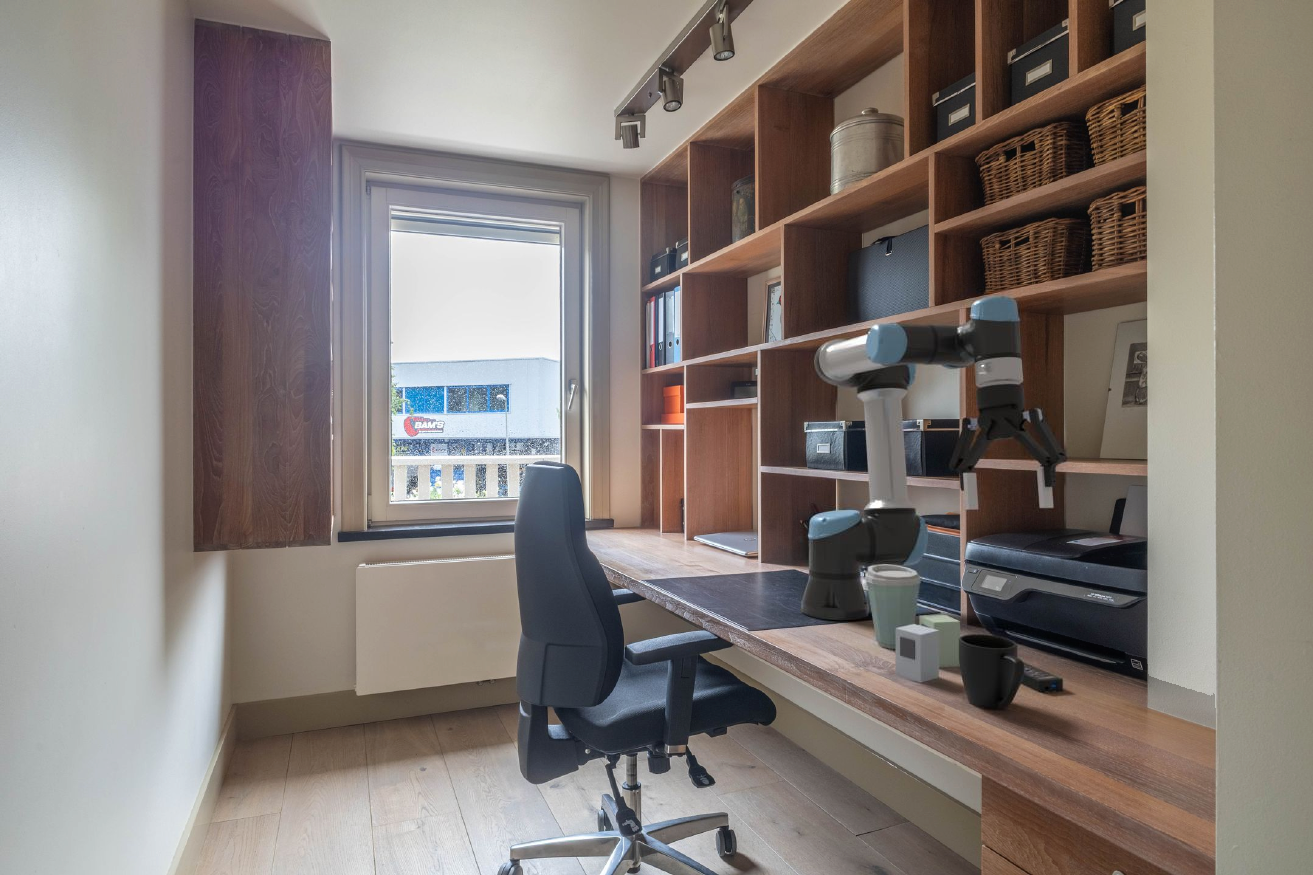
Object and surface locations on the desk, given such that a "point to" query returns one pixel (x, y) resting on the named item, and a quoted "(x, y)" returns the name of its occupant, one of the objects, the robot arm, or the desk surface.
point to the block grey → (917, 653)
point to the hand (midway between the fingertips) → (1007, 508)
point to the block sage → (945, 637)
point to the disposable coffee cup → (892, 600)
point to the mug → (990, 670)
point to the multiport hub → (1041, 680)
